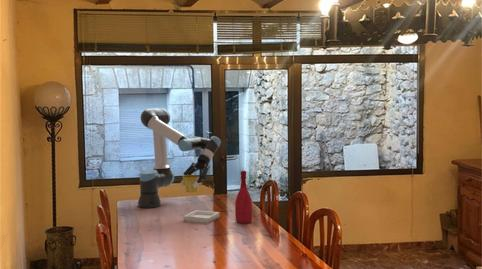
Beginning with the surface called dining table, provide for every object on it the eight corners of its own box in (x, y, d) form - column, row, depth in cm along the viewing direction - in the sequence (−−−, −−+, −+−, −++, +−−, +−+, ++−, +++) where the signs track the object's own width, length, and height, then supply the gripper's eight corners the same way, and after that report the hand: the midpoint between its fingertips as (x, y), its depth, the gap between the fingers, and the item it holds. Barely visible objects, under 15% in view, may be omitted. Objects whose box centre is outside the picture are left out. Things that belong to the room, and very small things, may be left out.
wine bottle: (252, 224, 295) (252, 172, 293) (235, 224, 295) (234, 172, 293) (252, 219, 305) (251, 169, 302) (235, 219, 305) (235, 169, 303)
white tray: (183, 221, 303) (183, 216, 303) (195, 215, 318) (195, 210, 318) (208, 223, 297) (208, 218, 297) (219, 217, 312) (219, 212, 312)
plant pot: (201, 190, 323) (200, 174, 322) (198, 193, 312) (198, 177, 312) (185, 190, 324) (184, 174, 323) (181, 193, 313) (181, 177, 313)
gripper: (221, 162, 321) (204, 191, 310) (195, 160, 336) (178, 187, 325) (215, 155, 316) (198, 184, 306) (189, 152, 331) (172, 180, 321)
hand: (188, 185), depth 315 cm, fingers closed on plant pot, 10 cm apart
